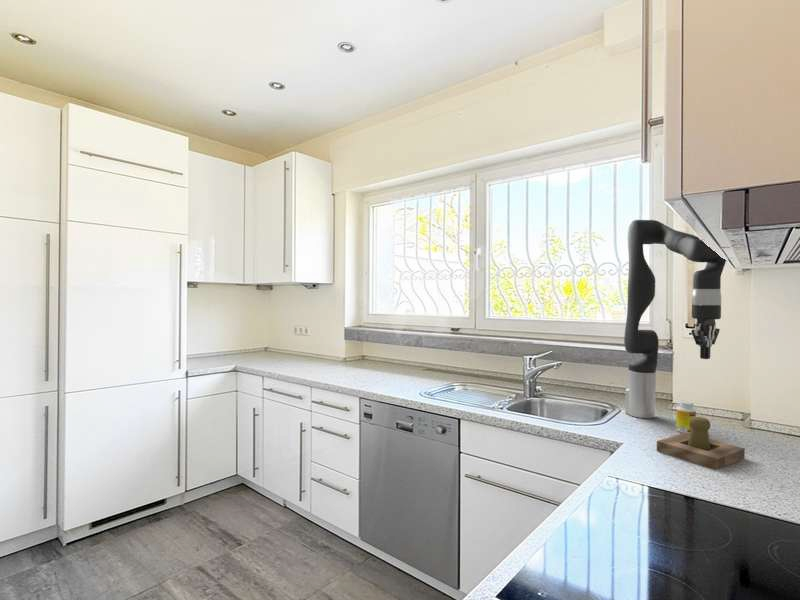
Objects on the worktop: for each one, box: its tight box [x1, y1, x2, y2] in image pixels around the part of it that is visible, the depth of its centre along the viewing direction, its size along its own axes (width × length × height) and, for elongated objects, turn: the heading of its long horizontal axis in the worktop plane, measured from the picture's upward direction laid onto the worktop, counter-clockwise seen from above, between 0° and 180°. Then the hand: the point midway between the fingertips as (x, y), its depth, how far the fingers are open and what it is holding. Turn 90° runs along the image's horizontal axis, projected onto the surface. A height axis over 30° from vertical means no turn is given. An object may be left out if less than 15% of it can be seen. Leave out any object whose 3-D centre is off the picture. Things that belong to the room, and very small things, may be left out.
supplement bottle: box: [675, 400, 697, 434], centre depth 147 cm, size 6×6×10 cm
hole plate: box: [656, 432, 746, 471], centre depth 127 cm, size 16×16×3 cm
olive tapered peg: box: [688, 416, 711, 451], centre depth 126 cm, size 6×6×11 cm
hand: (705, 358), depth 135 cm, fingers closed
